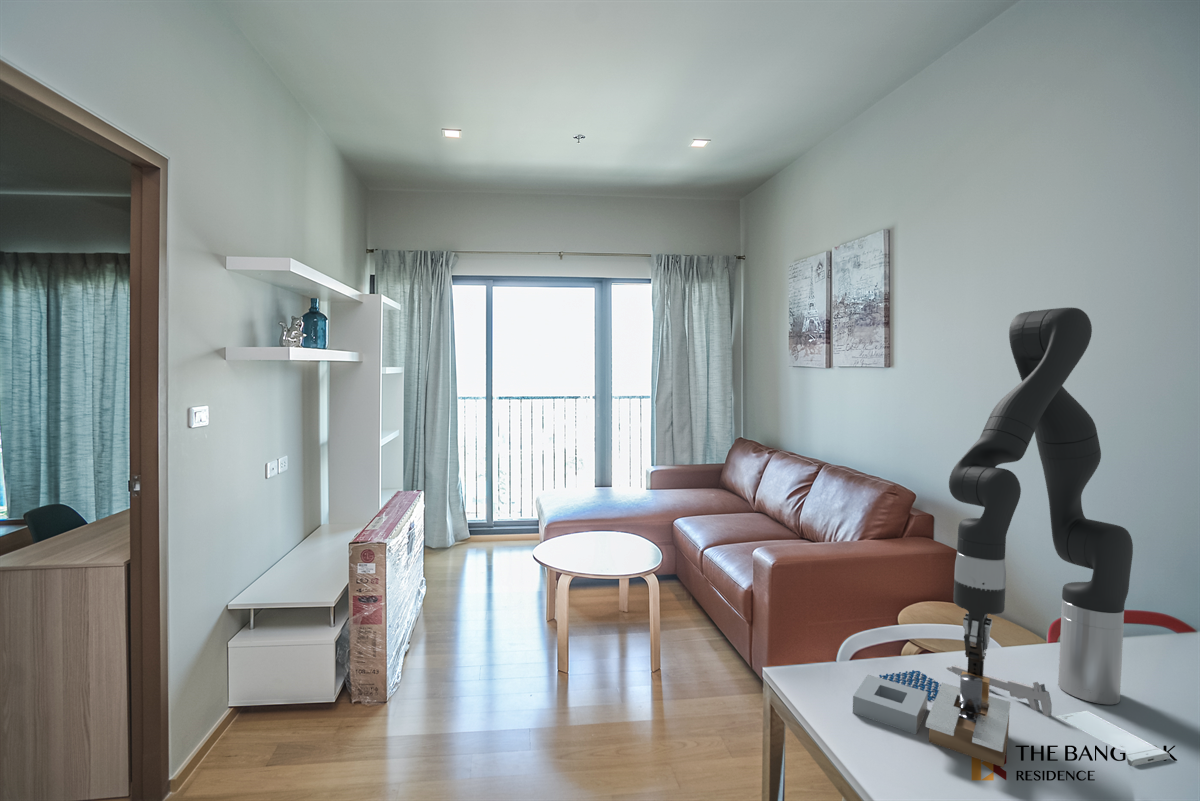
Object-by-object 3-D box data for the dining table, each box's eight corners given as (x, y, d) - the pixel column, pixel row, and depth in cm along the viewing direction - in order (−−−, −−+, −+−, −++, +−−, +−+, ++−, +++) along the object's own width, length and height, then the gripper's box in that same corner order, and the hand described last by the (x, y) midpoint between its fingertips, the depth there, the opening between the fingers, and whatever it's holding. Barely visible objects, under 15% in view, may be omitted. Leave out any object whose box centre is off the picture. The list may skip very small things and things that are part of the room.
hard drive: (1052, 716, 105) (1132, 759, 93) (1087, 710, 107) (1170, 751, 95) (1052, 725, 105) (1131, 769, 93) (1087, 719, 107) (1169, 761, 95)
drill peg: (959, 731, 99) (961, 672, 99) (980, 738, 98) (983, 678, 97) (956, 739, 97) (959, 679, 97) (978, 747, 95) (981, 685, 95)
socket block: (938, 720, 104) (939, 692, 104) (1007, 742, 98) (1009, 712, 98) (928, 747, 96) (929, 717, 96) (1003, 773, 90) (1004, 741, 90)
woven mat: (916, 677, 121) (917, 667, 121) (961, 704, 111) (962, 694, 111) (873, 683, 118) (874, 673, 118) (916, 712, 108) (916, 701, 108)
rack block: (867, 695, 112) (867, 674, 112) (926, 714, 106) (927, 692, 106) (852, 718, 104) (853, 695, 104) (916, 740, 98) (916, 716, 98)
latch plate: (942, 686, 106) (942, 665, 106) (1010, 706, 100) (1011, 684, 100) (925, 727, 93) (926, 703, 93) (1002, 752, 87) (1003, 726, 87)
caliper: (1051, 722, 105) (1052, 687, 105) (1047, 723, 105) (1048, 688, 104) (949, 669, 124) (951, 639, 124) (945, 669, 124) (947, 640, 124)
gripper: (1002, 595, 96) (997, 701, 97) (1008, 576, 107) (1004, 671, 107) (948, 585, 101) (944, 686, 101) (959, 567, 111) (956, 659, 112)
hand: (975, 678), depth 104 cm, fingers closed
